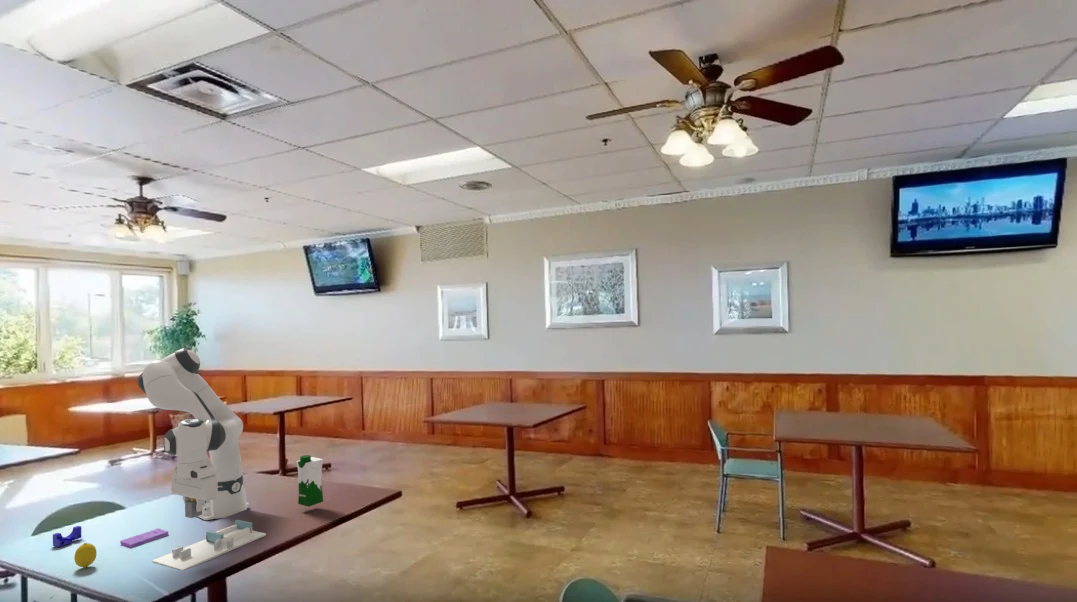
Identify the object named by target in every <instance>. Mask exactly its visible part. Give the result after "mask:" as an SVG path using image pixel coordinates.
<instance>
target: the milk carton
mask: <svg viewBox="0 0 1077 602" xmlns="http://www.w3.org/2000/svg"><path fill="white" fill-rule="evenodd" d="M299 457H300V458H299V460H296V461H295V462H296V463H295V464H296V467H297V473H298V476H297V477H298V478H297V479H298V482H297V483H298V498H297V499H298V501H297V504H298V505H300V506H304V507H308V508H309V507H312V506H315V505H317V504H321V503H323V502H324V496H323V495H324V492H323V464H324V459H323V458H319V457H314V456H311V455H310V454H309V455H308V454H306V455H301V456H299Z"/></svg>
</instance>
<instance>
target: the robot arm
mask: <svg viewBox="0 0 1077 602" xmlns="http://www.w3.org/2000/svg"><path fill="white" fill-rule="evenodd" d="M200 366H201V361H200V359H199V357H198V355H197V354H196V353H195V352H194V351H193V350H191V349H190V348H185V347H183V348H179V349H178V350H175V351H174V352H173V353H170V354H169V355H166V356H165V357H163V358H162V359H159V360H155V361H152V362H149V363H148V364H147V365H146V366H145V367H144V368H143V370H142V373H140V374H139V376H138V377H137V381H136V382H137V385H138V388H139V389H140V390H141V391H142V392H143V393H145V395H146V396H147V400H148V401H149V403H151V405H152V406H154V407H155V408H158V409H161V410H168V411H169V410H170V411H180V412H185V413H188V414H191V415H192V416H193V418H187V419H183V420H181V421H180V422H179V423H178V424H177V427H174V428H172V429H171V428H170V429H169V430H168V431H167V432H166V433H165V434H164V435H163V451H164V453H166V454H168V455H169V456H171V457H177V461H176V462H177V463H176V465H177V466H175V468H174V469H173V473H172V474H171V478H170V479H171V481H170V491H171V494H173V495H177V496H180V497H181V496H182V500H183V502H184V504H185V501H188V500H191V498H194V499H196V502H197V504H196V506H194V508H195V511H196V512H200V511H202V515H200V516H197V518H200V519H202V520H203V521H210V520H214V519H215V520H216V519H225V518H229V517H230V516H233V515H235V514H238V513H242V512H243V511H246V510H247V509H248V507H249V506H250V505H249V502H247V494H246V489H245V486H243V485H244V477H243V471H242V469H243V468H242V465H243V464H242V455H241V450H240V445H239V444H240V443H239V440H240V439H239V438H240V436H241V435H242V433H243V432H244V431H243V430H244V422H243V420H242V419H241V418H240V417H239V416H238V415H237V414H235V412H234V411H233V410H232V409H231V408H230V407H229V406H227V404H226V403H224V402H223V401H222V400H221V399H220V398H219V396H218V395H217V393H216V392H215V391H214V390H213V388H212V386H210V385H209V383H208V382H207V381H206V380H205V379H204V378H203V376H201V375H200V374H199V369H200ZM207 452H208V453H209V455H208V453H207ZM209 457H210V461H209Z"/></svg>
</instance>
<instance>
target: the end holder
mask: <svg viewBox="0 0 1077 602" xmlns="http://www.w3.org/2000/svg"><path fill="white" fill-rule="evenodd" d="M252 531H253V522H250V521H246V520H241V519H235V521H234V524H231V525H230V526H228V527H225V528H222V529H219V530H217V531H213V530H207V531H206V534H205V536H206V537H205V539H206V541H207V542H211V543H214V542H215V541H216V540H217V539H221V545H223V544H225V543H227V541H228V540H229V539H230V538H233V540H235V539H237V538H239V537H242V536H244V535H247V534H249V533H251V532H252Z"/></svg>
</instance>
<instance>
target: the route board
mask: <svg viewBox="0 0 1077 602" xmlns="http://www.w3.org/2000/svg"><path fill="white" fill-rule="evenodd" d="M265 536H267V533H265V532H262V531H261V532H260V531H256V530H252V532H251V533H249V534H247V535H244V536H242V537H239V538H237V539H235V540H233V538H230V539H229V540H228V541H227V543H225V544H223V545H221V539H217V540H216V541H215V542H214V543H211V542H207V541H206V538H205V539H203V540H200V541H198V542H195V543H193V544H190V545H187V546H185V547H184V545H180V546H178V547H175V548H172V549H171V550H172V552H170V553H167V554H165V555H162V556H160V557H157V558H155V559H152V560H151V563H154V564H158V565H161V566H165V567H168V568H172V569H176V570H180V571H185V570H187V569H190V568H192V567H195V566H198V565H201V564H203V563H205V562H207V561H210V560H213V559H215V558H217V557H219V556H222V555H224V554H226V553H228V552H232V551H233V550H235V549H238V548H240V547H242V546H244V545H247V544H250V543H251V542H255V541H256V540H258V539H260V538H263V537H265Z"/></svg>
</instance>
